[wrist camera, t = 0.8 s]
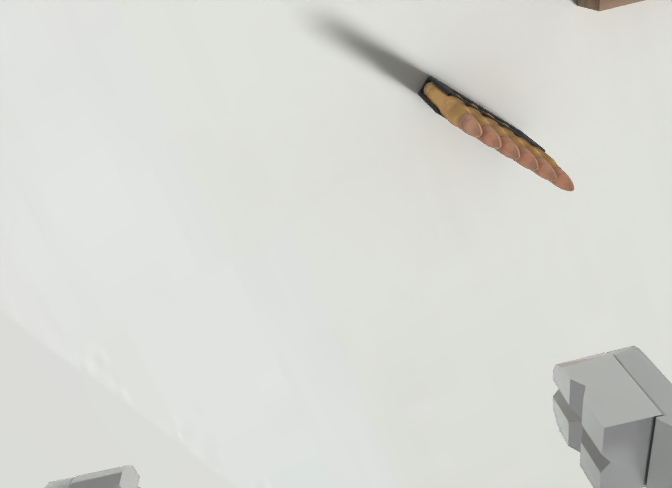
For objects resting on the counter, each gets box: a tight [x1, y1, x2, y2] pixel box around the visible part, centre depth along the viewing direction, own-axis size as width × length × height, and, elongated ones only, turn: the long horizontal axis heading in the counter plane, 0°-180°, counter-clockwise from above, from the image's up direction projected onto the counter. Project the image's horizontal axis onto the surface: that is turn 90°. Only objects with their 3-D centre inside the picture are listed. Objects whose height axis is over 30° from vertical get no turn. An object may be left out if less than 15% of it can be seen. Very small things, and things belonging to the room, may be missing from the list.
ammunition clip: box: [418, 76, 574, 191], centre depth 45 cm, size 11×2×12 cm, turn 60°
